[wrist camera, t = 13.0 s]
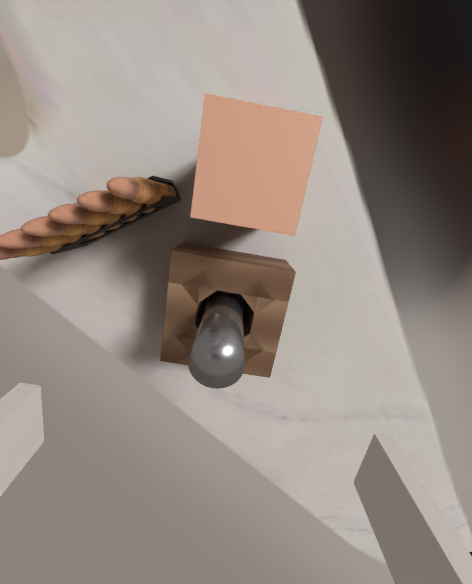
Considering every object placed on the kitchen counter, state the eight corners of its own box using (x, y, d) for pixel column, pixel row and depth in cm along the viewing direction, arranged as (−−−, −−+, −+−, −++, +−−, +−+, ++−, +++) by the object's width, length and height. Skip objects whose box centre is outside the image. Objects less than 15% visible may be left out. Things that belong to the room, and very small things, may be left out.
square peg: (220, 146, 24) (205, 93, 12) (282, 158, 24) (322, 116, 13) (211, 211, 26) (190, 217, 14) (269, 222, 26) (295, 235, 14)
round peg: (211, 280, 28) (192, 335, 16) (244, 286, 28) (249, 344, 16) (206, 312, 29) (185, 384, 17) (239, 317, 29) (239, 392, 17)
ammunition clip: (83, 246, 27) (-34, 278, 15) (72, 228, 26) (-57, 247, 15) (181, 199, 25) (134, 195, 14) (171, 179, 25) (115, 158, 13)
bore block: (183, 242, 26) (171, 250, 22) (285, 260, 27) (295, 272, 22) (173, 335, 29) (160, 360, 25) (264, 349, 30) (270, 377, 25)
